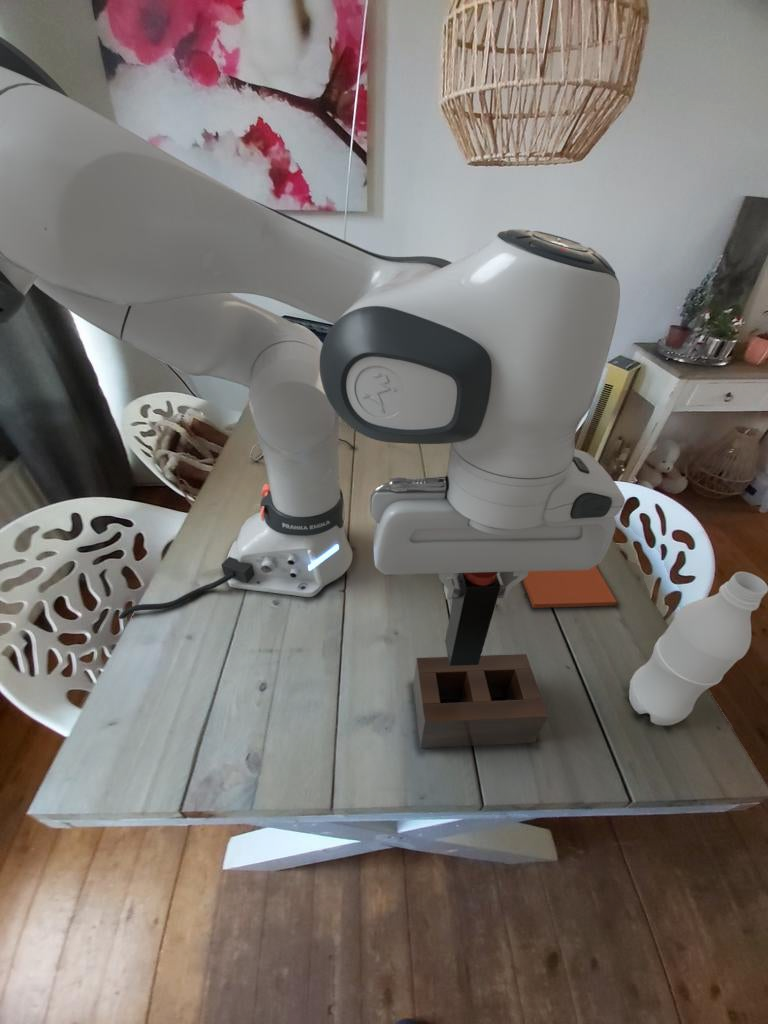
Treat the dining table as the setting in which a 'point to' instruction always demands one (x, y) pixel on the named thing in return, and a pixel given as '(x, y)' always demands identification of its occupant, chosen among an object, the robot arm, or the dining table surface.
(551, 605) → the mat
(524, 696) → the holder
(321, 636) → the dining table surface
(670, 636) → the water bottle
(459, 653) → the red-capped black post
